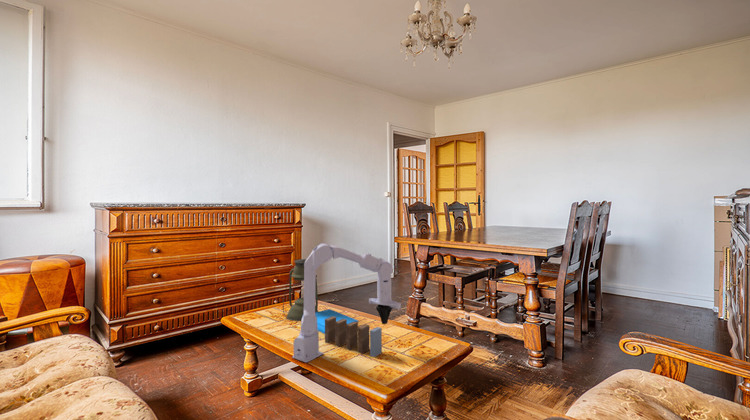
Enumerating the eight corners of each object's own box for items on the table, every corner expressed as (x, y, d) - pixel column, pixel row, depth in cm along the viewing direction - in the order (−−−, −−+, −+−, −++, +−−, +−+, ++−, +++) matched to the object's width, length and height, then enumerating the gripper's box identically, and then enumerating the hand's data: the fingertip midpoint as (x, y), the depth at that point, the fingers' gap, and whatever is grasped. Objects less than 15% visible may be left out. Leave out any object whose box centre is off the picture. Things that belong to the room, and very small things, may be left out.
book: (329, 308, 188) (358, 319, 169) (329, 316, 188) (358, 328, 169) (300, 315, 177) (328, 328, 158) (301, 324, 177) (328, 337, 158)
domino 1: (336, 339, 154) (336, 317, 154) (328, 343, 150) (328, 320, 150) (332, 338, 156) (332, 316, 155) (324, 342, 151) (324, 319, 151)
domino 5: (381, 352, 140) (381, 327, 140) (374, 357, 136) (374, 331, 136) (377, 351, 142) (377, 326, 141) (370, 356, 138) (370, 330, 137)
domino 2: (346, 342, 151) (346, 319, 151) (339, 346, 147) (338, 322, 147) (343, 341, 152) (343, 318, 152) (335, 345, 148) (335, 321, 148)
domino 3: (357, 346, 147) (357, 322, 147) (350, 350, 143) (350, 325, 143) (354, 344, 149) (353, 321, 148) (346, 349, 144) (346, 324, 144)
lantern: (328, 314, 190) (327, 258, 189) (305, 323, 175) (305, 263, 175) (300, 308, 201) (299, 256, 200) (276, 317, 186) (275, 260, 185)
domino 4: (369, 349, 144) (369, 325, 144) (362, 353, 140) (361, 328, 140) (365, 348, 145) (365, 324, 145) (358, 352, 141) (357, 327, 141)
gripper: (404, 290, 143) (405, 324, 143) (375, 286, 151) (375, 317, 151) (395, 294, 137) (395, 329, 137) (365, 289, 145) (365, 322, 146)
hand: (384, 323), depth 144 cm, fingers closed
